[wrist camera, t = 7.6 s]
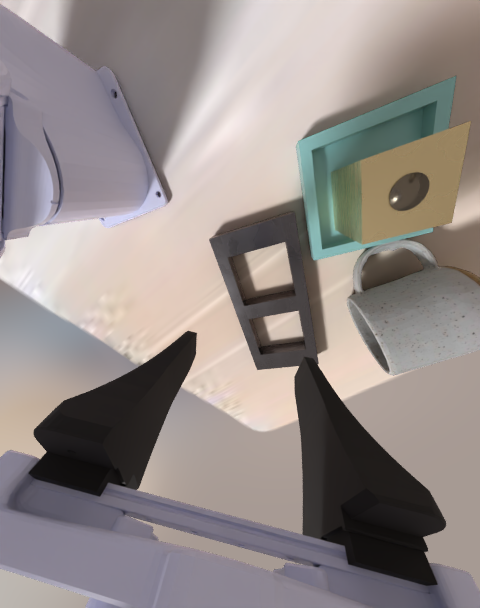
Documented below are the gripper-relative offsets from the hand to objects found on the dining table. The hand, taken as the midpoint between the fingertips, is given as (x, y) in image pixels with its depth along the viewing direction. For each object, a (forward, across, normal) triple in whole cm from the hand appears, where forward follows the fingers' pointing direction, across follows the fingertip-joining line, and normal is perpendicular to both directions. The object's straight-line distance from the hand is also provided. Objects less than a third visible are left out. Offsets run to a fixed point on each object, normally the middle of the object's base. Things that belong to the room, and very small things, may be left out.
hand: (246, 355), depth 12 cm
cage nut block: (+10, -7, -10) cm, 16 cm away
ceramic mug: (+11, -13, -3) cm, 17 cm away
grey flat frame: (+10, -2, +2) cm, 11 cm away
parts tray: (+10, -6, -11) cm, 16 cm away
